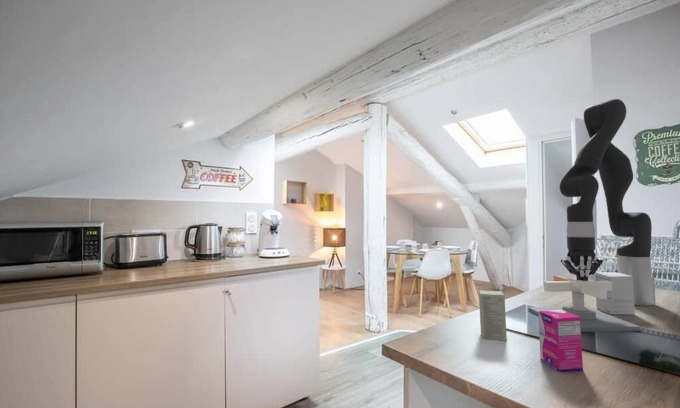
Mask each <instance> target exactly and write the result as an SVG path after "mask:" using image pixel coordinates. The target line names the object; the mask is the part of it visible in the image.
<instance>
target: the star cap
mask: <svg viewBox="0 0 680 408" xmlns="http://www.w3.org/2000/svg"><path fill="white" fill-rule="evenodd" d="M543 291H545V292H547V293H548V292H549V293H555V292H558V293H559V292H561V293H562V292H571V293H572V292H578V293H584V295H587V296H589V297H594V298H595V299H596V298H599V299H607V291H612V282H611V281H595V280H588V281H582V280H577V279H573V278H568V277H566V276H562V275H553V281H549V280H547V281H543Z"/></svg>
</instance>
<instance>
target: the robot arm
mask: <svg viewBox="0 0 680 408" xmlns="http://www.w3.org/2000/svg"><path fill="white" fill-rule="evenodd" d="M626 117H627V107H626V104H625V102H623V100H621V99H618V98H614V99H608V100H606V101H602V102H598V103H596V104H592V105H589V106H587V107H585V109H584V112H583V121H584V122H583V123H584V125H585V128H586V131H587V134H588V137H589V140H587V141H586V142H585V143H584V144H583V145H582V147H581V148H580V149H579V151H578V154H577V156H576V159H575V160H574V164H573V165H572V166H571V167H570V168H569V170H568V171H567V172H566V174H565V175H564V176H563V177H562V178H561V181H560V183H559V192H560V193H561V195H562V196H564V197H566V198H578V197H579V201H578V202H576V203H572V204H570V205H568V206H567V207H566V220H567V221H566V223H567V224H566V247H567V255H566V257H565V258H561V259H560V263H561V264H562V265H563V266H564V268H565V269H566V270H567V271H568V272H569V274H571V275H575V276H576V277H575V278H576V280H582V281H589V277H590V276H595V273H597V272H598V270H599V268H600V267H601V266H602V264H603V262H604V260H603V259H599V258H598V257H597V256H596V253H595V250H596V235H595V234H596V233H595V224H594V206H595V203H596V199H597V195H598V193H599V187H600V185H599V181H598V179H597V178H596V176H594V175H595V174H597V172H598V174H599V178H600V180H601V185H602V189H603V192H604V198H605V202H606V210H607V218H608V223H609V228H610V231H611V233H612V234H613V236H615V237H618V238H619V237H621V238H633V239H632V242H631V243H629V244H627V245H622V246H618V247H617V248H616V261H617V273H621V274H626V275H630V276H633V290H634V306H642V307H643V306H645V307H649V306H654V305H656V304H657V302H656V286H655V284H656V283H655V277H652V264H651V262H652V260H651V251H652V230H653V229H652V219H651V218H650V216H649V214H648V213H645V212H625V211H624V207H623V200H624V198H625V196H626V194H627V192H628V190H629V188H630V186H631V185H632V183H633V180H634V173H633V169H632V163H631V159H630V158H629V157H628V155H626V154H625V153H624V152H623V151H622V150H621V149H619V148H618V147H617V146H616V145H614V144H613V143H612V141H613V140H614V137H615V136H616V135H617V133H618V131H619V130H620V128H621V126H622V125H623V123H624V121H625V120H626Z"/></svg>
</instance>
